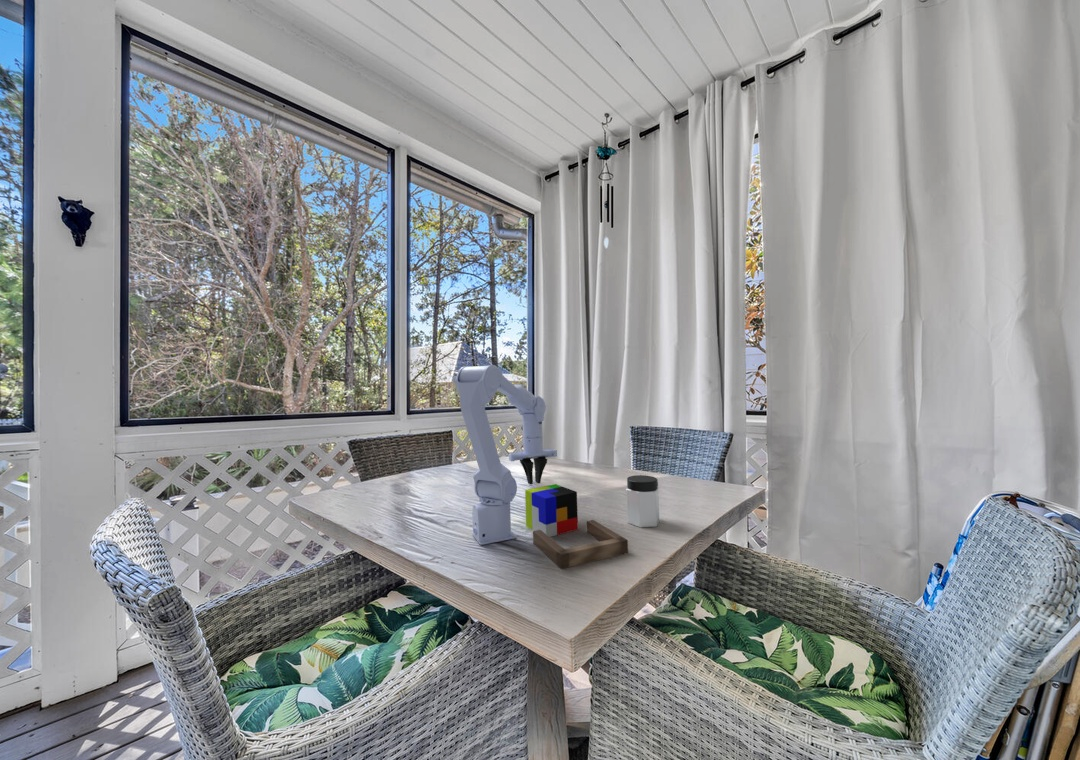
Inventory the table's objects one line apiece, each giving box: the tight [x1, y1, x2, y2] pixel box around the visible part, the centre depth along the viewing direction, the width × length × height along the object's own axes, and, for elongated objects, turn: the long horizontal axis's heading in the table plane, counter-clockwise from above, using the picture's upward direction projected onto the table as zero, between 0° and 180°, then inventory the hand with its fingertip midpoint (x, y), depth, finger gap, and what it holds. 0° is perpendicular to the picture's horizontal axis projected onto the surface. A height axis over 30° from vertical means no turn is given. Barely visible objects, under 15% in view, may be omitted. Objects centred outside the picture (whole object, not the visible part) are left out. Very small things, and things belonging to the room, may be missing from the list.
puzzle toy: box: [524, 483, 579, 538], centre depth 110 cm, size 10×10×10 cm
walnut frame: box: [532, 519, 629, 570], centre depth 96 cm, size 17×15×3 cm
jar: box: [625, 474, 660, 528], centre depth 112 cm, size 9×8×12 cm
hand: (534, 483), depth 121 cm, fingers closed
